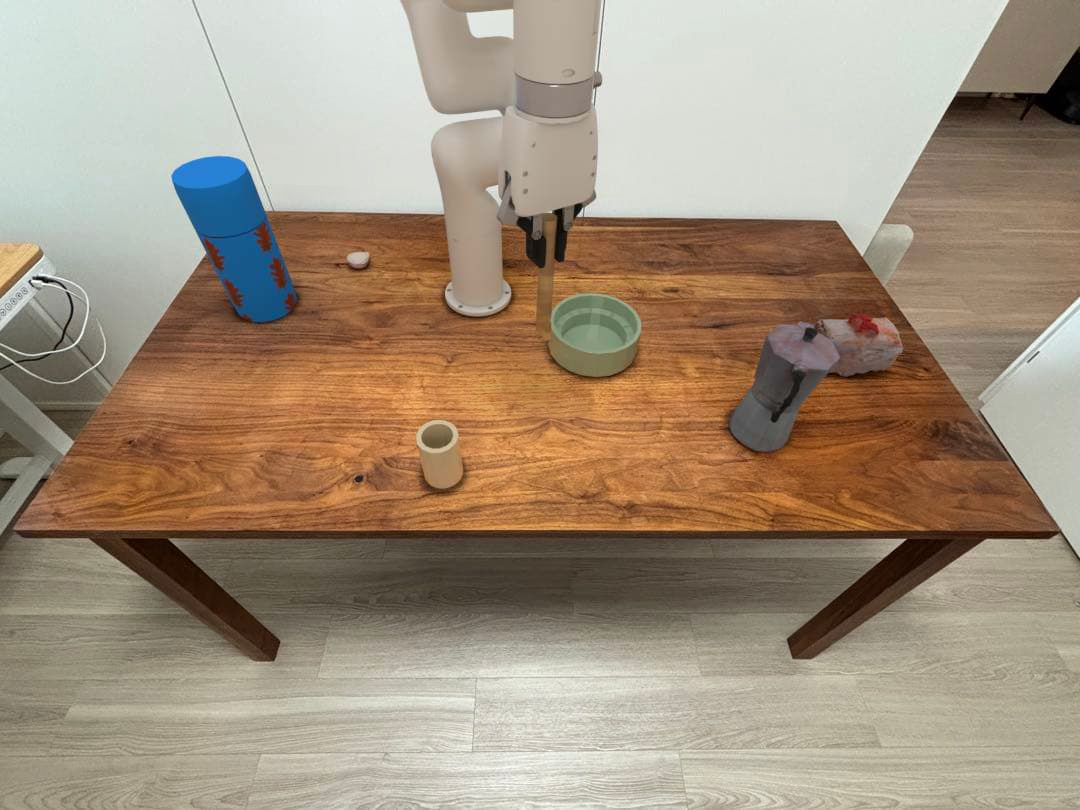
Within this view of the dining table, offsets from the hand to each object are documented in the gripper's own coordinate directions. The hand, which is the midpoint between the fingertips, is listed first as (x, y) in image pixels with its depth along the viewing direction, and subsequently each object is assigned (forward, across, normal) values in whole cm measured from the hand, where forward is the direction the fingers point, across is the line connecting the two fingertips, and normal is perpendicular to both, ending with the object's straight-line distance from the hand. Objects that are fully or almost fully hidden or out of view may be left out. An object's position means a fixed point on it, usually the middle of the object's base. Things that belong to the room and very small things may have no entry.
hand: (545, 258), depth 65 cm
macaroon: (+27, +13, -50) cm, 58 cm away
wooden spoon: (+12, 0, 0) cm, 12 cm away
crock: (+27, +18, +5) cm, 33 cm away
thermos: (+27, +32, -46) cm, 62 cm away
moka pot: (+28, -27, +21) cm, 44 cm away
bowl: (+27, -15, -7) cm, 32 cm away
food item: (+28, -51, +17) cm, 61 cm away
